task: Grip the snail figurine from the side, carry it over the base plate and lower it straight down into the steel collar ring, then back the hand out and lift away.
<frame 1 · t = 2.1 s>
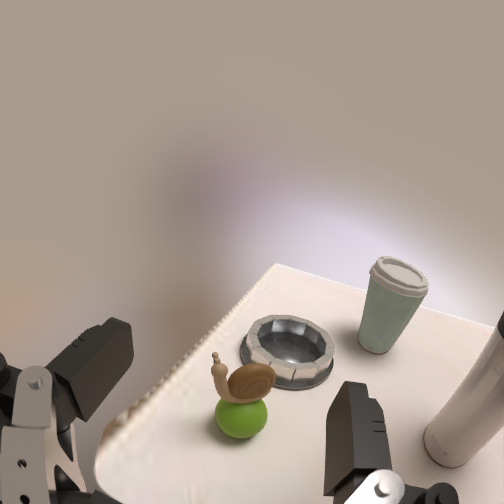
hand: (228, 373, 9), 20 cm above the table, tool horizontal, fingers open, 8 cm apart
snail figurine: (233, 428, 27), on the table
collar base: (287, 356, 40), on the table
disposable coffee cup: (372, 344, 45), on the table
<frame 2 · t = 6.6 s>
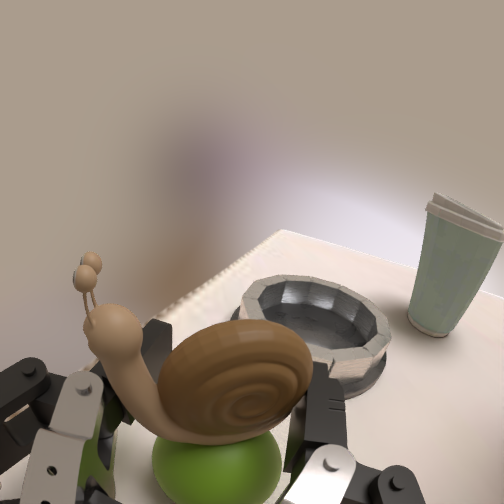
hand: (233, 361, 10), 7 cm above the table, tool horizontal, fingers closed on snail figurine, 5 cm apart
snail figurine: (203, 485, 10), on the table, touching gripper
collar base: (309, 341, 23), on the table
disposable coffee cup: (426, 325, 28), on the table
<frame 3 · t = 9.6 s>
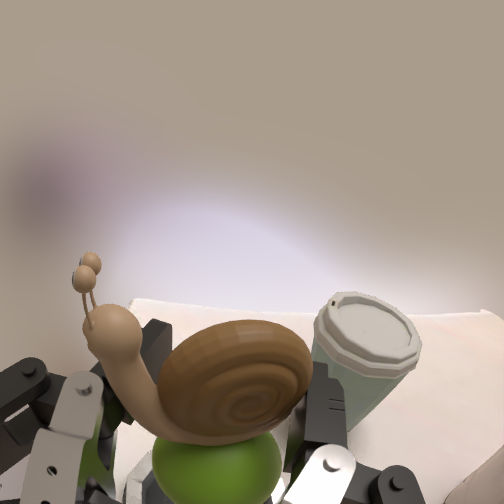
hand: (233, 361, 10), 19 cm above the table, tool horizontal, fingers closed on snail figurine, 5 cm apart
snail figurine: (203, 485, 10), point 11 cm above the table, touching gripper
disposable coffee cup: (324, 421, 27), on the table
when the fingers open (9 cm above the table, at t = 12.6 s): snail figurine drops 1 cm, resting on collar base.
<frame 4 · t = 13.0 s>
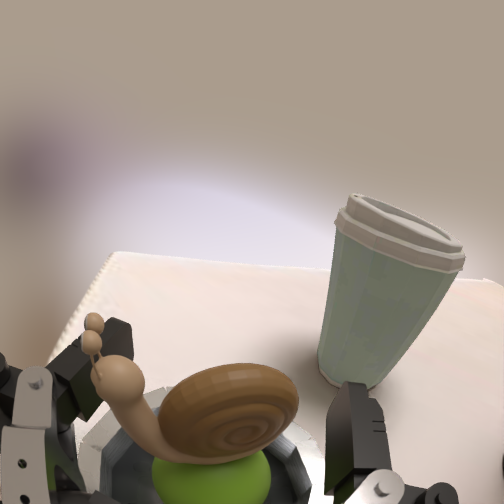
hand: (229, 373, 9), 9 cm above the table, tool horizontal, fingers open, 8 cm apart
snail figurine: (199, 494, 10), point 1 cm above the table, touching collar base
collar base: (202, 496, 11), on the table
disposable coffee cup: (347, 373, 23), on the table
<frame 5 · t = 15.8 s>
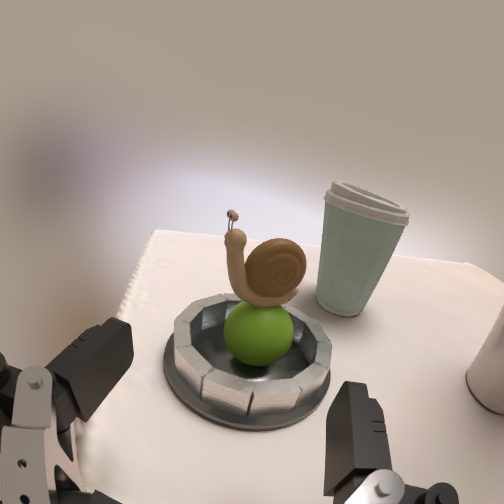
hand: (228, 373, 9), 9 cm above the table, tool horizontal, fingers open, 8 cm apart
snail figurine: (246, 359, 22), point 1 cm above the table, touching collar base
collar base: (248, 363, 23), on the table
disposable coffee cup: (338, 306, 35), on the table
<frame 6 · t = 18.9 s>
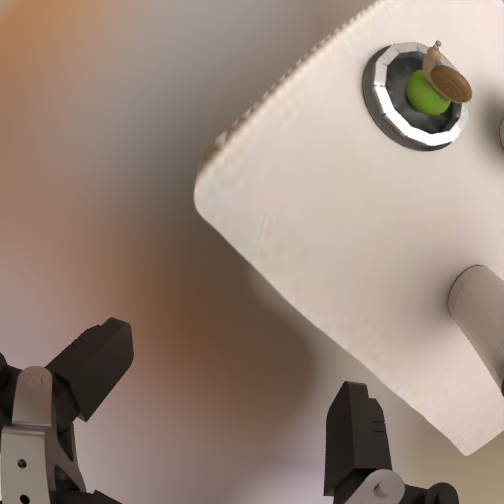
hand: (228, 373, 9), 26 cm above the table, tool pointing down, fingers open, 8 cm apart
snail figurine: (416, 94, 25), point 1 cm above the table, touching collar base
collar base: (416, 96, 25), on the table
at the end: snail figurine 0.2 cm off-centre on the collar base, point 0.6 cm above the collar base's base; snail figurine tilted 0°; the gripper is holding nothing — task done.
